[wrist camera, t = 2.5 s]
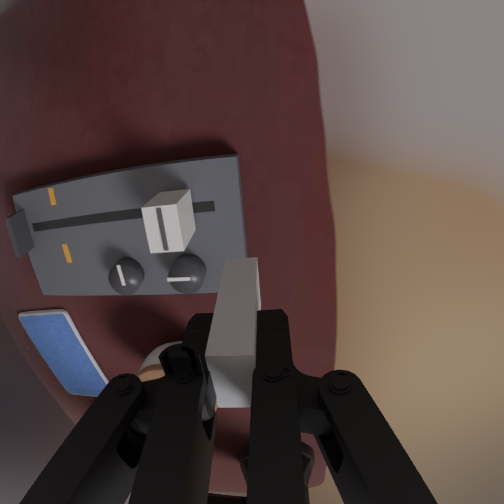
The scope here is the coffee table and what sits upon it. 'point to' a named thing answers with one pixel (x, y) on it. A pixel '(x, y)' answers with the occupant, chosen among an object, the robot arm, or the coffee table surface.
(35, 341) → the tablet computer
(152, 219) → the fader tab
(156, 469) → the robot arm
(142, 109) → the coffee table surface
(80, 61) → the coffee table surface
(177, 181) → the console
